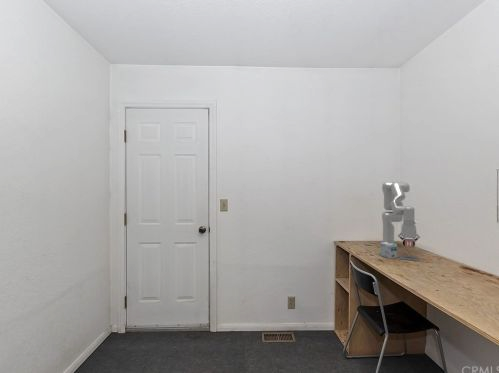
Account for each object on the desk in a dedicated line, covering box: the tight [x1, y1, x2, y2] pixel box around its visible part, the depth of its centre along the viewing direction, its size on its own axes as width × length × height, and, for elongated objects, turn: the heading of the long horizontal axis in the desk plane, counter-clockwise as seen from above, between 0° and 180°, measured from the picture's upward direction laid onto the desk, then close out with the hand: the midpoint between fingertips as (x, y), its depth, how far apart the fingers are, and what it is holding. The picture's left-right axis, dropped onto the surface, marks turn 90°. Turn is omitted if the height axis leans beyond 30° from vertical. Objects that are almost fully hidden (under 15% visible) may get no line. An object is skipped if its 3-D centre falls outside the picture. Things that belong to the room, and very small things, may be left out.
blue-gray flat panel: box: [399, 254, 419, 262], centre depth 213 cm, size 12×12×1 cm
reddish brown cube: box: [404, 238, 414, 248], centre depth 212 cm, size 6×6×6 cm
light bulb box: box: [379, 241, 398, 260], centre depth 217 cm, size 11×7×11 cm, turn 22°
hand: (408, 245), depth 212 cm, fingers closed on reddish brown cube, 5 cm apart
